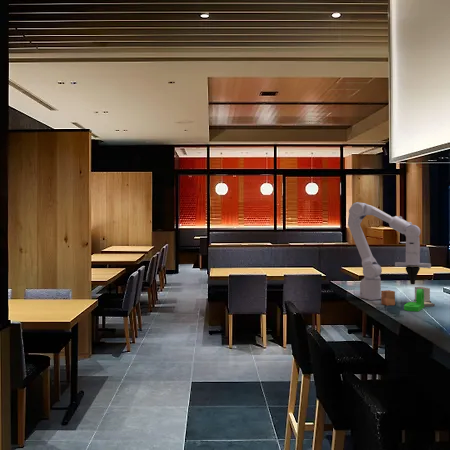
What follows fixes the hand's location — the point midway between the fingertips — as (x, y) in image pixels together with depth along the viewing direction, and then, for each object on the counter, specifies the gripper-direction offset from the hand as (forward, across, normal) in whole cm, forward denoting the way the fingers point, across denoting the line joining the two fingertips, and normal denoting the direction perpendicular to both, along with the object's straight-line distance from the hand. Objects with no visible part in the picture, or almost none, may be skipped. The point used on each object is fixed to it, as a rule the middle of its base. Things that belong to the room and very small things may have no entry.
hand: (412, 284), depth 221 cm
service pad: (+8, +5, -4) cm, 10 cm away
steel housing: (+8, +3, +4) cm, 10 cm away
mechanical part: (+9, +3, -15) cm, 18 cm away
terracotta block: (+8, -8, -10) cm, 16 cm away
